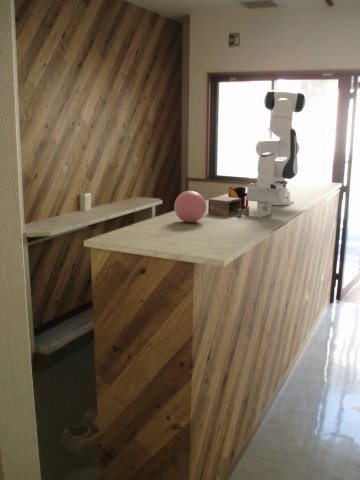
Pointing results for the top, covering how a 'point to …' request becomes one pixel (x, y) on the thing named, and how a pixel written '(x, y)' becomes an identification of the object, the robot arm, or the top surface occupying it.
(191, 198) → the balloon
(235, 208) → the cabinet
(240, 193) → the mug
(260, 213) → the door
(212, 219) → the top surface
